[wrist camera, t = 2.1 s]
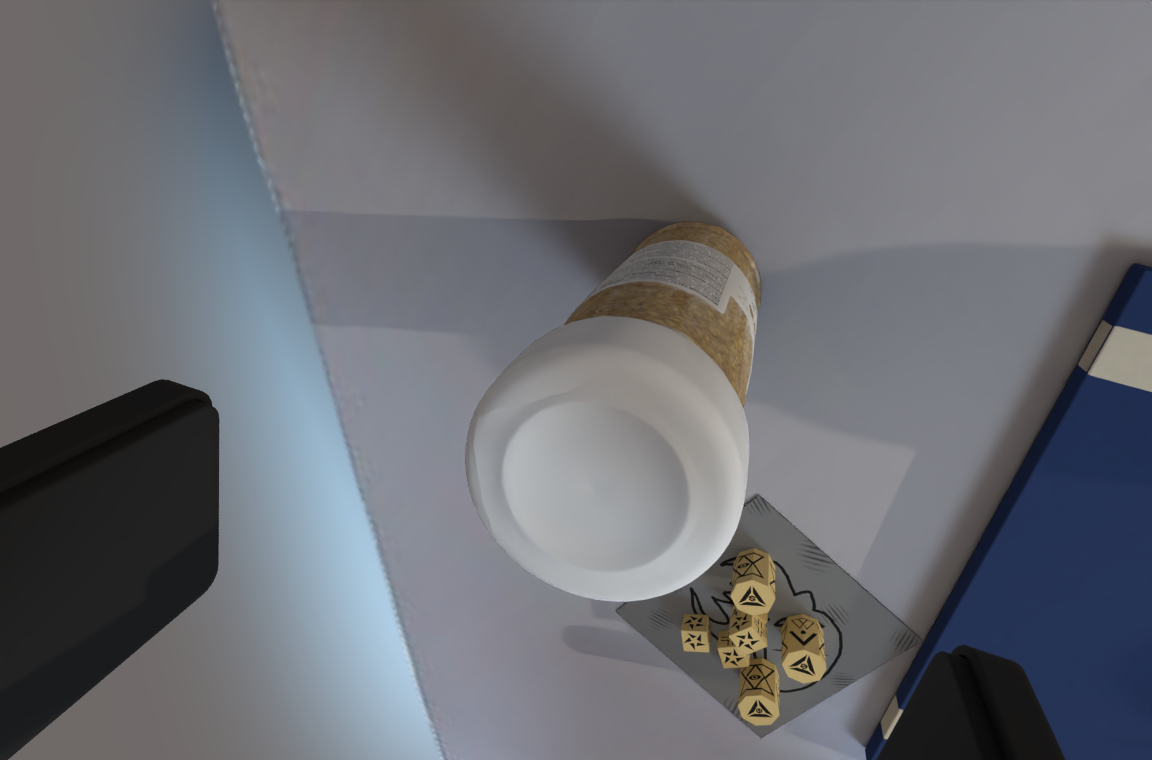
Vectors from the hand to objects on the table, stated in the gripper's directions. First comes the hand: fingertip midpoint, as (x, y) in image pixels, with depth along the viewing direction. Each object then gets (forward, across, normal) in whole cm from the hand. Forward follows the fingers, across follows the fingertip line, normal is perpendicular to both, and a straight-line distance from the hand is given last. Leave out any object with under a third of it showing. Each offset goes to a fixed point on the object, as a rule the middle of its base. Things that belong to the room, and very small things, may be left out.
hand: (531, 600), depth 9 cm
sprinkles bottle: (+16, 0, -1) cm, 16 cm away
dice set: (+16, -6, +11) cm, 21 cm away
